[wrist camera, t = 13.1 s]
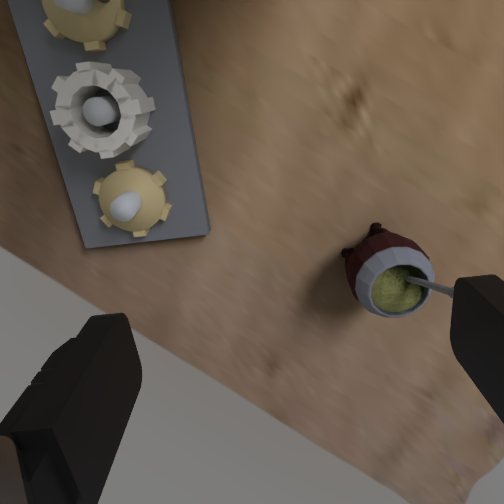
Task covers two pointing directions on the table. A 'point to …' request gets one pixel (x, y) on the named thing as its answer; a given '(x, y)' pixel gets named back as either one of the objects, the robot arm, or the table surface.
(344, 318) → the table surface
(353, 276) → the mate gourd
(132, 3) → the gear board
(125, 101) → the ivory gear
